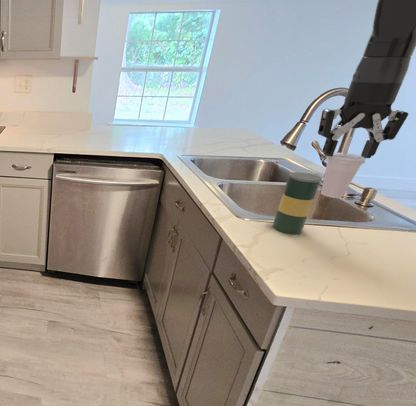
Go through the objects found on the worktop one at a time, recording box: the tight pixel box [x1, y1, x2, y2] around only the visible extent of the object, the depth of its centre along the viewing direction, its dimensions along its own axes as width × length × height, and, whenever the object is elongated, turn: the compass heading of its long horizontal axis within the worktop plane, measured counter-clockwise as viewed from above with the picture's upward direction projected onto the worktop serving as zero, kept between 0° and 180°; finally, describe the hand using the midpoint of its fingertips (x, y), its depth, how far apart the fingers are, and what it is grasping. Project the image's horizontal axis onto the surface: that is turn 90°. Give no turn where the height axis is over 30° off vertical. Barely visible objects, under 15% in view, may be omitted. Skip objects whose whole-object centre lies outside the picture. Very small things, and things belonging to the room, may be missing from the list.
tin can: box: [272, 171, 322, 235], centre depth 102 cm, size 7×7×16 cm
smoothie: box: [320, 136, 366, 199], centre depth 84 cm, size 6×6×14 cm
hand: (346, 156), depth 83 cm, fingers closed on smoothie, 6 cm apart
